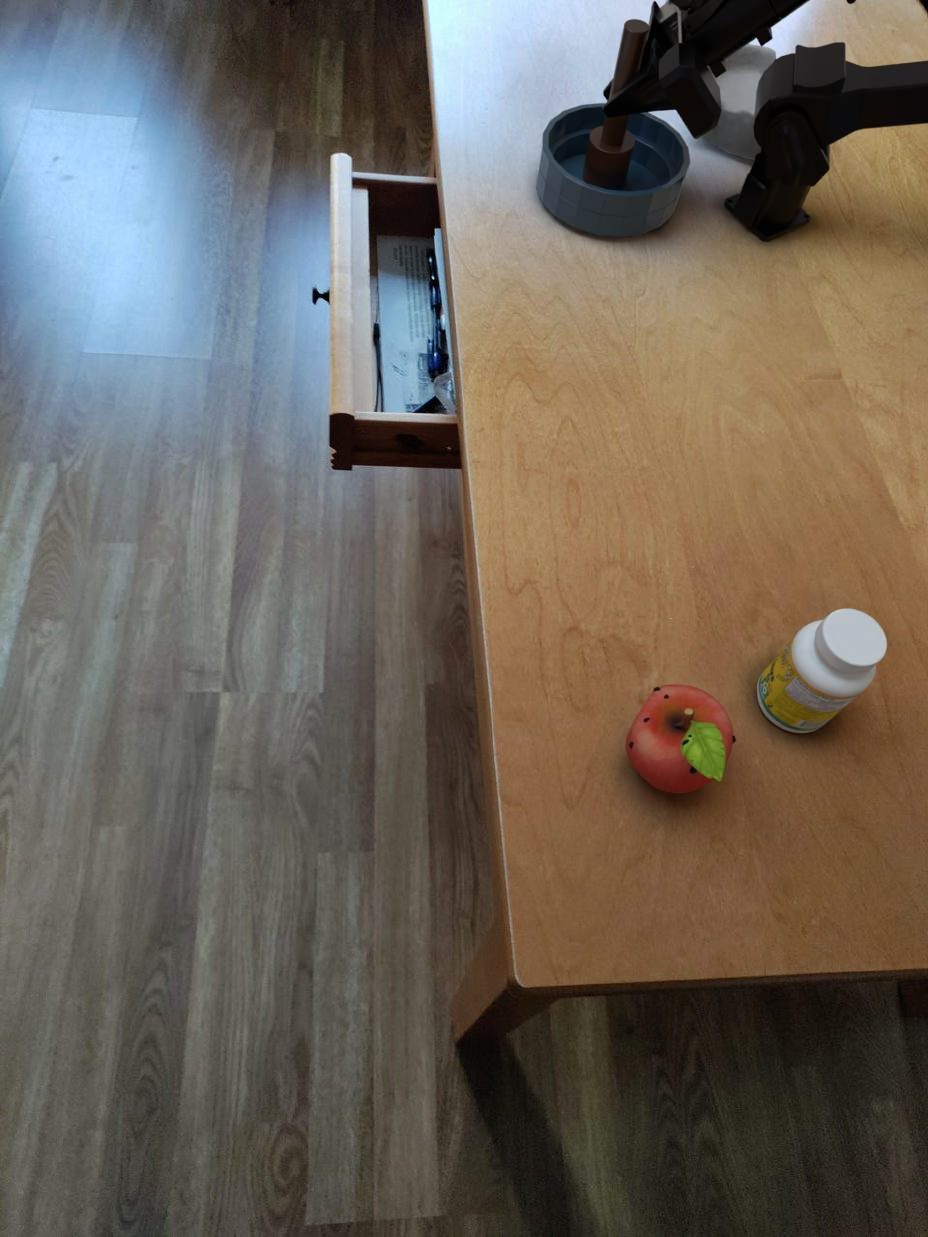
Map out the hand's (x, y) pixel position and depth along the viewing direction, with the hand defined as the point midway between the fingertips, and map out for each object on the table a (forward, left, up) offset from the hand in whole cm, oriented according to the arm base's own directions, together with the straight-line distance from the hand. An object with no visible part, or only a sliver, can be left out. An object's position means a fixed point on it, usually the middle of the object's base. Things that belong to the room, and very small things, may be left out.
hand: (605, 104), depth 79 cm
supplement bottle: (+21, +53, -9) cm, 57 cm away
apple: (+32, +52, -9) cm, 62 cm away
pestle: (-1, +1, -7) cm, 7 cm away
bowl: (-1, +2, -8) cm, 9 cm away
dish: (-22, 0, -9) cm, 24 cm away
